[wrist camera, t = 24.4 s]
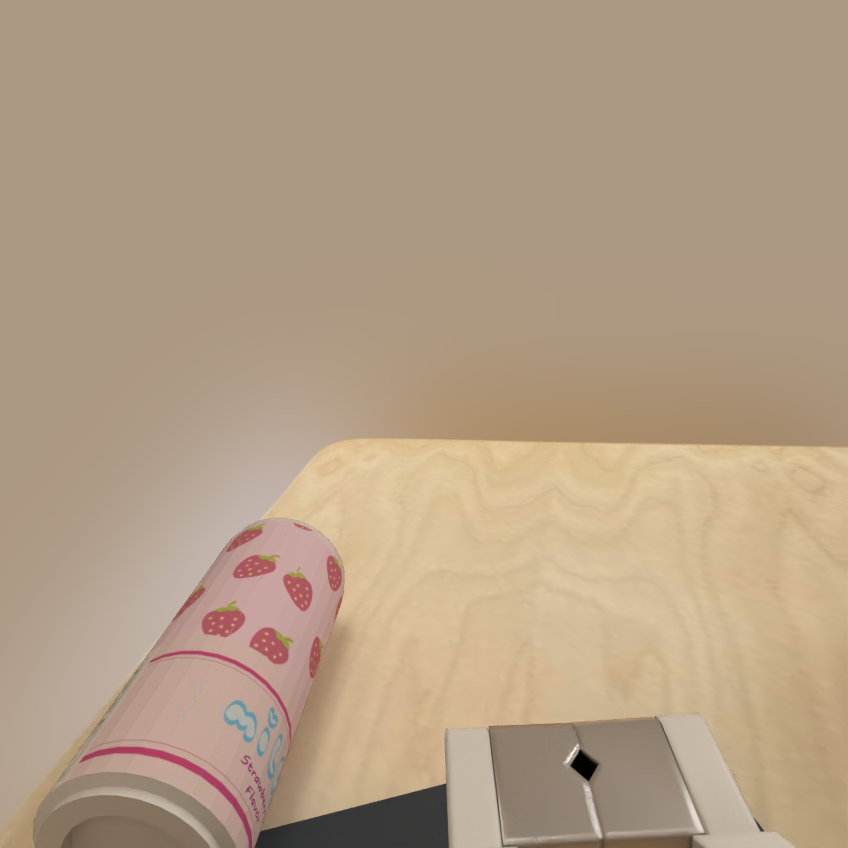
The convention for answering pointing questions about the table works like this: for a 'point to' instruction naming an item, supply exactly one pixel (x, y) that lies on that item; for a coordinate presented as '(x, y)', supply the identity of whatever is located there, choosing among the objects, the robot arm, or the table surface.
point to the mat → (373, 825)
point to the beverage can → (207, 705)
